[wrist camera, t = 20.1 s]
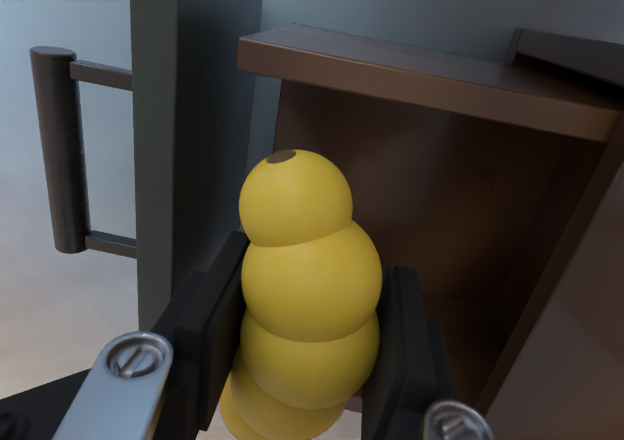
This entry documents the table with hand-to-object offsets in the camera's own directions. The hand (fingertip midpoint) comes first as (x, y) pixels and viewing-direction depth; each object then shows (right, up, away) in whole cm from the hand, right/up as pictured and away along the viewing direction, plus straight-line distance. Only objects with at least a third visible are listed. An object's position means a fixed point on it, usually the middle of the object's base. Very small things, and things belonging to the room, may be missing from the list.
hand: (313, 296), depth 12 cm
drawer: (+1, +5, +9) cm, 10 cm away
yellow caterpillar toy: (0, 0, 0) cm, 0 cm away
